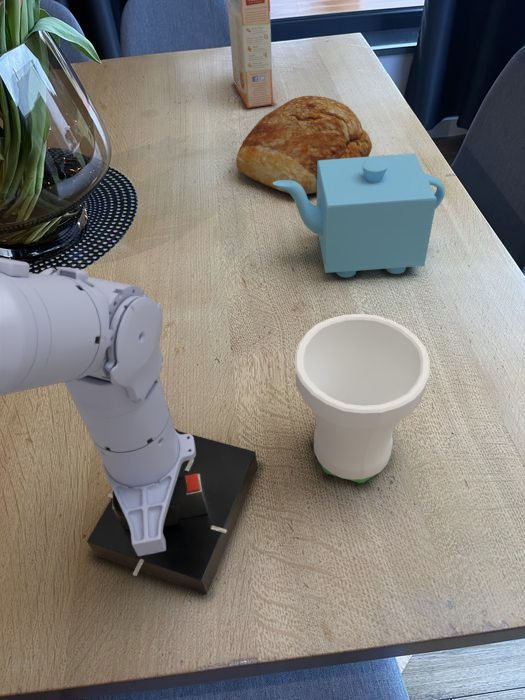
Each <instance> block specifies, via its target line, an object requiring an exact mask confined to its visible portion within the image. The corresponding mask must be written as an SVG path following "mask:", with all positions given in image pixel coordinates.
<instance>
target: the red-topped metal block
mask: <svg viewBox="0 0 525 700" xmlns="http://www.w3.org/2000/svg"><path fill="white" fill-rule="evenodd" d="M185 479H186V489H187V496H186V501H185V503H184V504H183V505H181V506H180V507H179V510H178V519H183V518H188V517H193V516H198V515H203V514H208V507H207V499H206V494H205V490H204V487H203V483H202V479H201V475H200V474H192V475H187V476H185ZM113 510H114V512H115V514H116V516H117V518H118V520H119V522H120V524H121V526H122V527H123V529H124V530H129V529H130V528H129V525H128V522H127V520H126V517H125V516H119V515H118V514H117V512H116V511H115V509H114V507H113Z"/></svg>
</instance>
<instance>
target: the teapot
mask: <svg viewBox="0 0 525 700" xmlns="http://www.w3.org/2000/svg"><path fill="white" fill-rule="evenodd" d="M273 185H275V186H277V187H280V188H282V189H284V190H286V191H287V192H289V193H288V194H290V196H291V197H292V198H293V201H294V204H295V205H296V208H297V211H298V214H299V216H300V219H301V221H302V223H303V224H304V226H305V227H306V228H307V229H308V231H310V232H312V233H314V234H316V235H317V236H318V240H319V247H320V251H321V257H322V262H323V268H324V273H325V274H327V273H336V275H338V276H339V277H340V278H351V277H354V276H355V275H356V274H357V272H358V271H368V270H369V271H370V270H384V269H385V270H386V272H388V273H390V274H392V275H393V274H394V275H399V274H403V273H405V271H406V269H407V268H412V267H414V268H415V267H424V266H425V264H426V258H427V254H428V249H429V243H430V238H431V232H432V227H433V221H434V217H435V212H436V209H438V207H439V206H440V205H441V203H442V202H443V200H444V198H445V193H446V189H445V186H444V183H443V181H441V179H440V178H439V177H437V176H436V175H433V174H430V173H429V174H428V173H426V174H425V171H424V169H423V167H422V165H421V163H420V160H419V158H418V156H417V154H416V153H402V154H388V155H387V154H386V155H371V156H368V157H357V158H344V159H331V160H320V161H318V162H317V193H316V205H315V204H313V203H311V201H310V200H309V198H308V194H306V193H305V191H304V189H303V187H302V186H301V185H300V184H298V183H297V182H295V181H291V180H279V181H275V182H273ZM432 186H433V187H434V188H436V190H435V192H434V190H433V188H432Z"/></svg>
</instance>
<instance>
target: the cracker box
mask: <svg viewBox="0 0 525 700" xmlns="http://www.w3.org/2000/svg"><path fill="white" fill-rule="evenodd" d="M226 4H227V17H228V25H229V26H228V28H229V40H230V53H231V65H232V77H233V78H232V79H233V85H234V87H235V89H236V90H237V91H238V94H239V96H240V99H242V101H243V104H244V105H245V107H246V108H247V109H251V108H258V107H265V106H266V107H267V106H271V105H274V92H273V87H274V86H273V59H272V58H273V57H272V32H271V31H272V29H271V0H226ZM234 81H235V82H234ZM235 83H236V84H235Z"/></svg>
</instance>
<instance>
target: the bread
mask: <svg viewBox="0 0 525 700" xmlns="http://www.w3.org/2000/svg"><path fill="white" fill-rule="evenodd" d="M372 149H373V143H372V140H371V137H370V136H369V133H368V132H367V131H366V130H365V129H363V126H362V123H361V120H360V119H359V118H358V116H357V115H356V114H355V113H354V111H353V110H352V109H351V108H350V107H349V106H348V105H346V104H344V103H343V102H341V101H338V100H335V99H332V98H329V97H326V96H317V95H303V96H299V97H294V98H292V99H290V100H289V101H287V102H285V103H283V104H281V105H280V106H278V107H276V108H275V109H273V110H271V111H270V112H269V113H267V114H265V115H264V116H263V117H262V118H261V119H259V121H258V122H257V123H256V124H255V126H253V128H252V129H251V131H249V133H248V134H247V135H246V137H245V138H244V140H243V141H242V143H241V145H240V147H239V148H238V151H237V154H236V167H237V170H238V172H240V173H241V174H243V175H245V176H247V177H249V178H250V179H252V180H254V181H255V182H257V183H258V182H259V183H261V184H263V185H265V186H267V187H269V188H272V189H275V190H278V191H281V192H283V193H287V194H290V193H289V192H287V191H286V190H284V189H282V188H280V187H277V186H275V185H273V182H275V181H279V180H291V181H295V182H297V183H298V184H300V185H301V186H302V187H303V189H304V191H305V193H306V195H309V194H317V162H318V161H320V160H331V159H344V158H357V157H370V154H371V152H372Z"/></svg>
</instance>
